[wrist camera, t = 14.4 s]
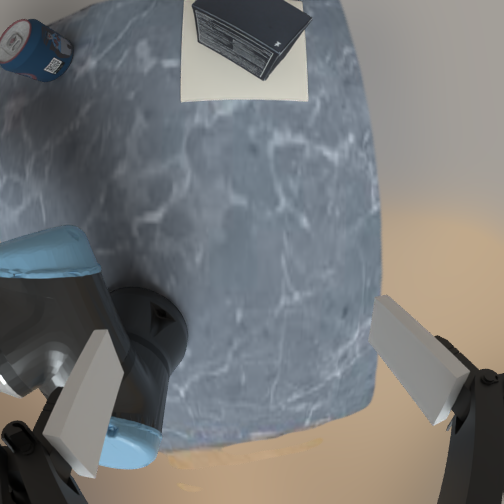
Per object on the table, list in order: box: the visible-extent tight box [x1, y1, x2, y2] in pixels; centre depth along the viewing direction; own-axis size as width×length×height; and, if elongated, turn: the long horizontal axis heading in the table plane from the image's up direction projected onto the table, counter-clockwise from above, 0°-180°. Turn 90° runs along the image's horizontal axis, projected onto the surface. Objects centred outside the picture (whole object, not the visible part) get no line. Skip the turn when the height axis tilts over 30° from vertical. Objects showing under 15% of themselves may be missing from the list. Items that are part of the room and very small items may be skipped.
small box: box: [192, 0, 312, 81], centre depth 25 cm, size 11×6×10 cm, turn 55°
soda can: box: [0, 19, 73, 82], centre depth 21 cm, size 7×7×12 cm
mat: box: [181, 0, 308, 102], centre depth 30 cm, size 16×16×1 cm
